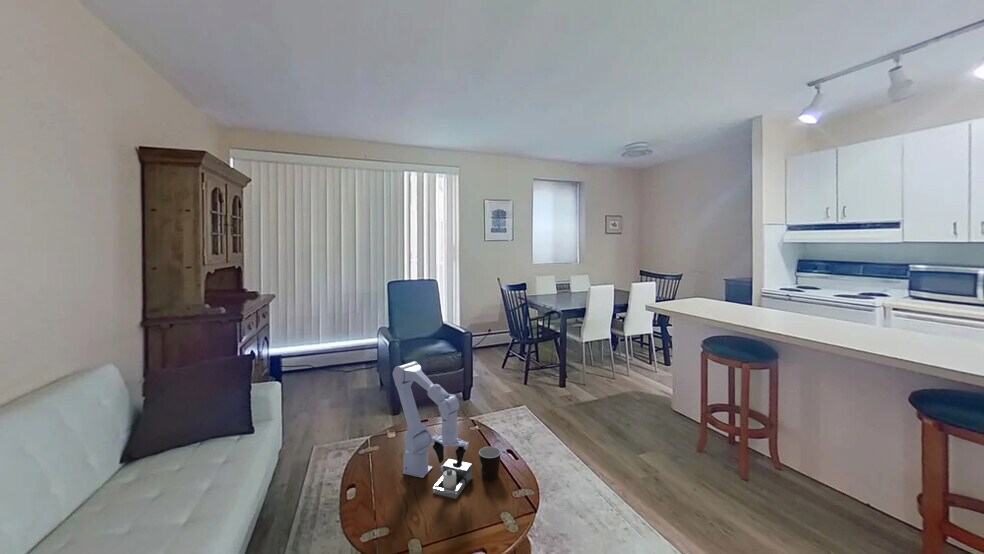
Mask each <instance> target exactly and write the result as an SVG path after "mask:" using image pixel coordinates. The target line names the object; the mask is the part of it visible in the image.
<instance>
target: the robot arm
mask: <svg viewBox="0 0 984 554" xmlns="http://www.w3.org/2000/svg"><path fill="white" fill-rule="evenodd" d="M422 370H423V369H422V366H421V365H420V364H419V363H418V362H417V361H415V360H413V361H411V362H408V363H405V364H402V365H397V366H395V367H394V368H393V371H392V377H393V381H394V385H395V387H396V389H397V392H398V396H399V399H400V404H401V406H402V409H403V415H404V418H405V421H406V425H407V430H406V432H405V434H404V435H403V436H404V446H405V451H404V454H403V472H402V474H404V475H408V476H411V477H418V478H420V479H423V478H424V477H425V476H427V474H428V473H429V472H430V471H431V470H432V469H433V466H431V465H429V449H430V446H431V444H432V443H433V445H432V448H433V450H434V452H435V453H436V456H437V459H438V462H439V464H442V462H444V458H445V456H444V455H445V454H444V450H445V449H444V448H448V447H456V448H457V449H455V450H454V452H455V455H456V460H457V467H460V466H461V463H462V462H463V458H464V455H465V452H466V450H468V448H469V441H465V440H462V439H461V438H458V410H459V409H460V408H461V400H460V399H459V396H457V395H456V394H452V393H449V392H448V391H446V390H445V389H444V388H443V387H442V386H441V385H440V384H438V383H435V384H434V383H433V382H432V381H431V380H430V379H429V377H428V376H427V375H426V374H425V373H424V372H423V371H422ZM413 382H415V383H417V384H418V385H419V386H421V388H423V389H424V390H426V391H427V396H428V397H429V398H430V399H431V400H432V401H433V403H435V404H436V405H437V408H438V411H439V414H440V419H441V435H434V436H432V434H431V432H430V430H429V429H428V426H427V425H425V424H423V423H422V422H421V418H420V414H419V411H418V408H417V405H416V404H417V403H416V400H415V397H414V394H413V390H412V385H413Z"/></svg>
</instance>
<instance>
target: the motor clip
mask: <svg viewBox="0 0 984 554" xmlns="http://www.w3.org/2000/svg"><path fill="white" fill-rule="evenodd" d="M472 465H473V464H472V463H470V462H465V461H462V463H461V466H460V467H457V459H452V458H448V459H447V461H445V462H444V464H443V465H442V464H441V465H440V466H439V472H442V474H443V473H444V472H445V471H447V470H448V469H451V470H453V471H455V472H456V488H455V489H454V491H451V490H447V489H443V475H442V476H441V477H440V478H439V479H438V480H437V482H436V483H435V484H434V485H433V487H432V493H433V494H435V495H439V496H443V497H448V498H452V499H455V500H456V499H457V498H458V497H459V495H460V494H461V493H462V492H463V490H464V489H465V487H466V486H467V485H468V484H469V483H470V481H471V480H472V478H473V472H472V471H473V468H472V467H473V466H472Z"/></svg>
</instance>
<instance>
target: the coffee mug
mask: <svg viewBox="0 0 984 554" xmlns="http://www.w3.org/2000/svg"><path fill="white" fill-rule="evenodd" d="M501 452H502V451H501V450H500V448H499V447H495V446H484V447H482V448H481V449H479V450H478V455H479V462H480V464H479V466H480V470H481V478H482V479H483V480H484V481H486V482H493V481H496V480H498V478H499V470H500V462H501V455H502V454H501Z"/></svg>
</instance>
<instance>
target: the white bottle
mask: <svg viewBox="0 0 984 554" xmlns="http://www.w3.org/2000/svg"><path fill="white" fill-rule="evenodd" d="M442 476H443V486H442V488H443V489H447V490H451V491H454V489H455V488H456V487H457V483H456V472H455V471H453V470H451V469H448V470H447V471H445V472H444V473H443V472H442Z"/></svg>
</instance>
